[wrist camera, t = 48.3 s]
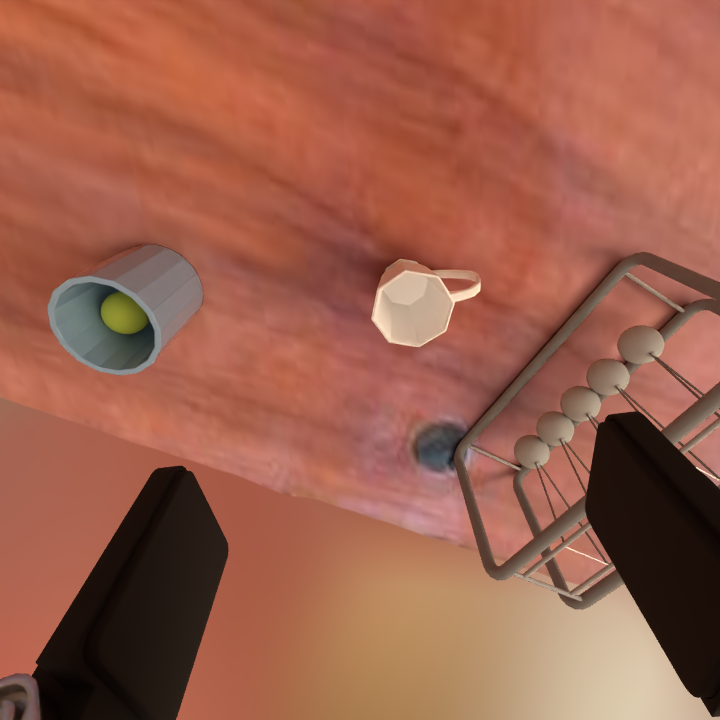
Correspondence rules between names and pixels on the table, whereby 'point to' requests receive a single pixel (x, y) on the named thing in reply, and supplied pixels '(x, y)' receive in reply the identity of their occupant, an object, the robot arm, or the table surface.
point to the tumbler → (149, 290)
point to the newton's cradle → (584, 406)
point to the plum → (123, 314)
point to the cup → (417, 302)
